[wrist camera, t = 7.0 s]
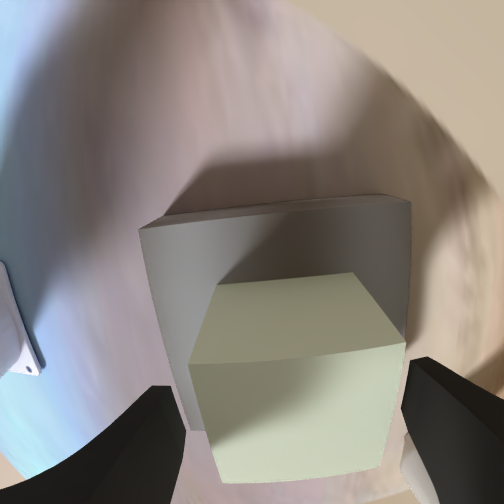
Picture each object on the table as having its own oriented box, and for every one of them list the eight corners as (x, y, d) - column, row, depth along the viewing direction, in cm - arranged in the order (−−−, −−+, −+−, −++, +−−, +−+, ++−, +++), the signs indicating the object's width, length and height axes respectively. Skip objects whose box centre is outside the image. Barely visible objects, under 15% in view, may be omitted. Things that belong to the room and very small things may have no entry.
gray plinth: (200, 393, 17) (190, 430, 14) (162, 216, 14) (138, 229, 11) (376, 375, 16) (392, 409, 13) (382, 193, 13) (410, 201, 11)
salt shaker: (448, 391, 16) (536, 537, 4) (468, 423, 17) (536, 540, 5) (378, 442, 18) (427, 599, 5) (409, 465, 19) (453, 591, 6)
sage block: (233, 390, 13) (222, 483, 8) (216, 284, 12) (187, 364, 7) (348, 379, 13) (378, 467, 8) (352, 272, 11) (406, 341, 6)
